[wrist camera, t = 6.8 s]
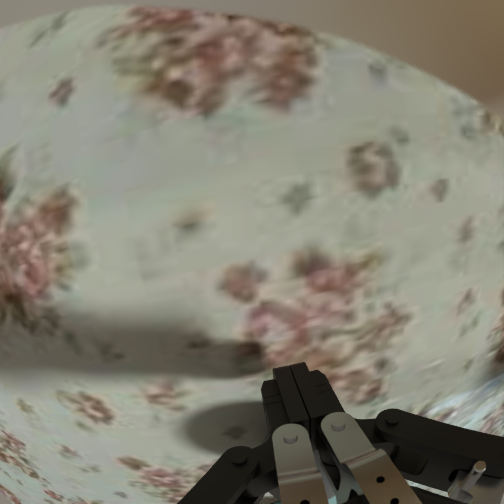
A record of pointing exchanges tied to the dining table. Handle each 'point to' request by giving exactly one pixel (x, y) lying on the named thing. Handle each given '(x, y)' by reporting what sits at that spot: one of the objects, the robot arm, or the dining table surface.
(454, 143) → the dining table surface
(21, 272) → the dining table surface
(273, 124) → the dining table surface
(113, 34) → the dining table surface
